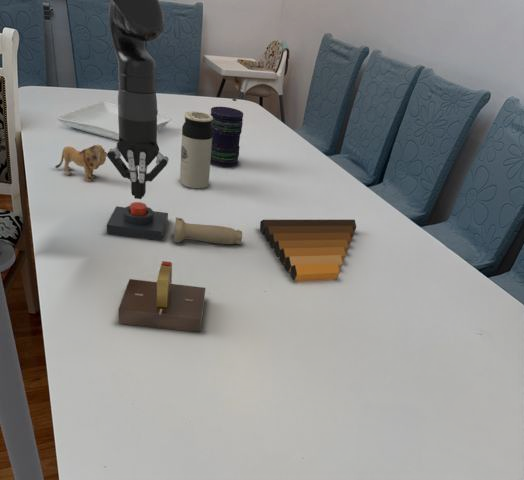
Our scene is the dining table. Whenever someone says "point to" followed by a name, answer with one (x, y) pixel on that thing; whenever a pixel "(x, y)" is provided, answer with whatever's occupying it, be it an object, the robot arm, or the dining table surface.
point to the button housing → (137, 224)
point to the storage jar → (225, 136)
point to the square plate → (100, 120)
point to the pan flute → (310, 246)
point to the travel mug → (196, 149)
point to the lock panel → (173, 317)
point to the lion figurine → (84, 159)
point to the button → (138, 208)
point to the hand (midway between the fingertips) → (138, 197)
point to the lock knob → (164, 284)
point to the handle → (206, 233)
